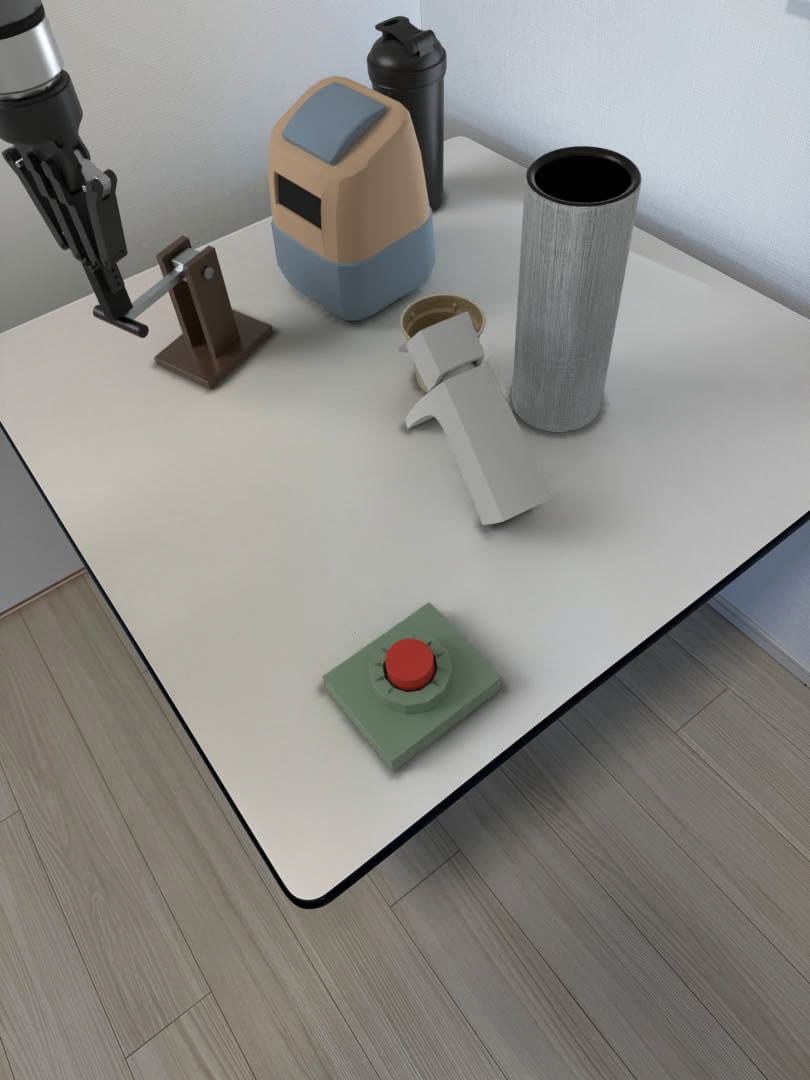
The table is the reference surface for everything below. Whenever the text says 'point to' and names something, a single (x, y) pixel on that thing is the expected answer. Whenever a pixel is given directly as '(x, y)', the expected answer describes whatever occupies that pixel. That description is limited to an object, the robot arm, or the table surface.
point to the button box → (412, 715)
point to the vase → (571, 282)
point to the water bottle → (414, 89)
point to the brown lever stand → (206, 320)
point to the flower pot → (438, 316)
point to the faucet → (475, 420)
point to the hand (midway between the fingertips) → (119, 312)
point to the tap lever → (149, 297)
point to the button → (409, 664)
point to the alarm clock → (349, 199)
